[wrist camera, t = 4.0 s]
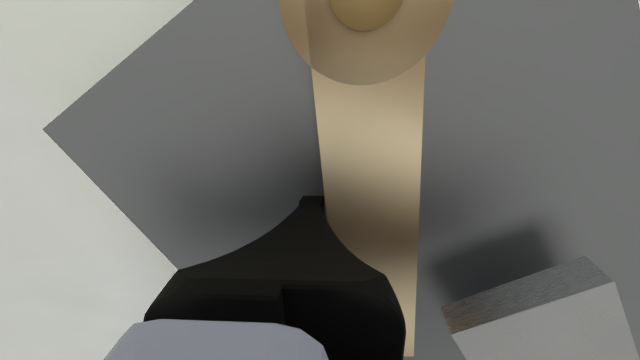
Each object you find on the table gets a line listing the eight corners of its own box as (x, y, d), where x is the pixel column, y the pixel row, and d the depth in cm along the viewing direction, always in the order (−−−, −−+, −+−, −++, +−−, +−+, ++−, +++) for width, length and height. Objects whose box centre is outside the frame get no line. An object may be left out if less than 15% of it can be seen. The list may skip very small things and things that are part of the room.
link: (277, -80, 9) (253, -127, 6) (443, -107, 8) (482, -167, 6) (327, 326, 15) (324, 376, 13) (421, 325, 15) (435, 377, 12)
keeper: (424, 264, 13) (450, 334, 10) (541, 217, 12) (614, 281, 9) (487, 369, 16) (524, 453, 13) (589, 340, 15) (661, 426, 11)
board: (341, 417, 21) (341, 437, 20) (67, 122, 13) (42, 129, 12) (680, 322, 15) (706, 344, 14) (540, -270, 8) (572, -322, 7)
